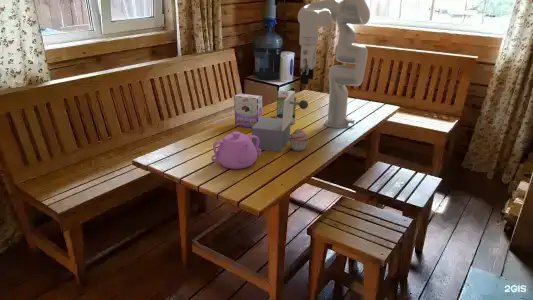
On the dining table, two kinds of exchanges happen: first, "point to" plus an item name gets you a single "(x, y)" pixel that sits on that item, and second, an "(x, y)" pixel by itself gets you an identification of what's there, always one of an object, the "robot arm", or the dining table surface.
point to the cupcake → (298, 140)
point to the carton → (271, 134)
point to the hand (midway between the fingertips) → (306, 81)
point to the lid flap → (291, 109)
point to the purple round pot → (236, 151)
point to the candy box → (247, 109)
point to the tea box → (280, 104)
